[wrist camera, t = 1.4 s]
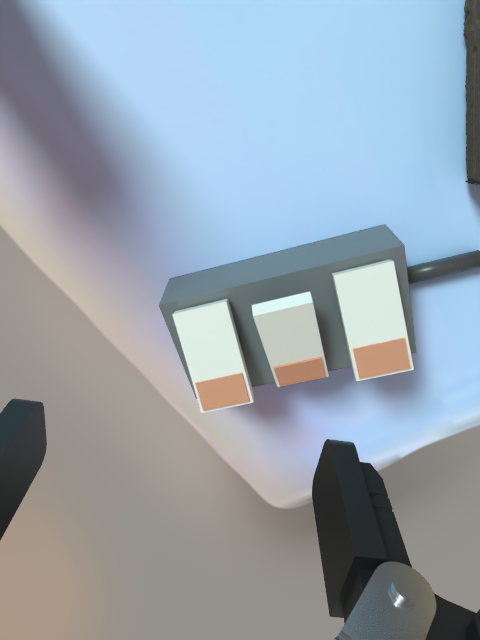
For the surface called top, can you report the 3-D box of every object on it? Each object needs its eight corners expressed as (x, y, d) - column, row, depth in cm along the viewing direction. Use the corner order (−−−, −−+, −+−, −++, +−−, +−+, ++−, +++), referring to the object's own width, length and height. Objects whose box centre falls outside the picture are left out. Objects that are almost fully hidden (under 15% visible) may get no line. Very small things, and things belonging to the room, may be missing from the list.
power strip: (473, 201, 31) (514, 223, 26) (477, 305, 34) (513, 341, 30) (169, 278, 34) (156, 310, 29) (202, 366, 37) (195, 407, 33)
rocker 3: (389, 259, 28) (394, 261, 27) (409, 364, 29) (414, 370, 28) (331, 273, 28) (333, 275, 27) (354, 376, 30) (356, 382, 29)
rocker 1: (228, 298, 29) (225, 301, 28) (254, 396, 31) (253, 403, 30) (175, 311, 30) (171, 314, 29) (204, 407, 31) (201, 414, 30)
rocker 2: (310, 291, 27) (313, 303, 26) (325, 365, 31) (329, 378, 31) (251, 305, 27) (253, 317, 27) (276, 376, 32) (277, 389, 31)
